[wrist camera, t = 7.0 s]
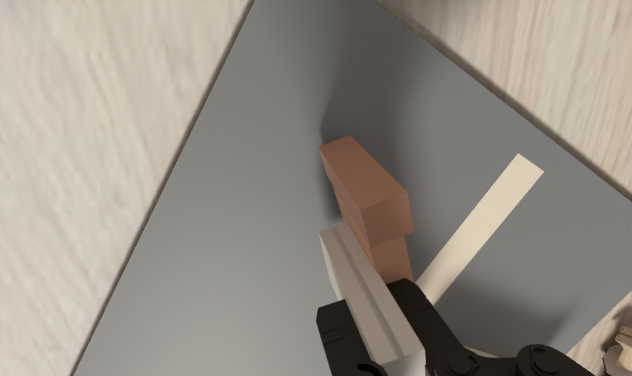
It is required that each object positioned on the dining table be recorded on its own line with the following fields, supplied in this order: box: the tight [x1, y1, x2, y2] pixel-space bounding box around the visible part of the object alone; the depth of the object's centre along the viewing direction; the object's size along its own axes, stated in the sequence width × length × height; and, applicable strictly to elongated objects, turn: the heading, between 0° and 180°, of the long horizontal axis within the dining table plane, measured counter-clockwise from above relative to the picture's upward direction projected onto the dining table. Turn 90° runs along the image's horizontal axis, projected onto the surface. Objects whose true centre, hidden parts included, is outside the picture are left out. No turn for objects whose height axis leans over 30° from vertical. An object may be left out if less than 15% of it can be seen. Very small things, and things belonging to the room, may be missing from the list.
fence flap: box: [318, 135, 415, 285], centre depth 15 cm, size 11×1×5 cm, turn 17°
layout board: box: [73, 0, 632, 376], centre depth 21 cm, size 24×30×1 cm
